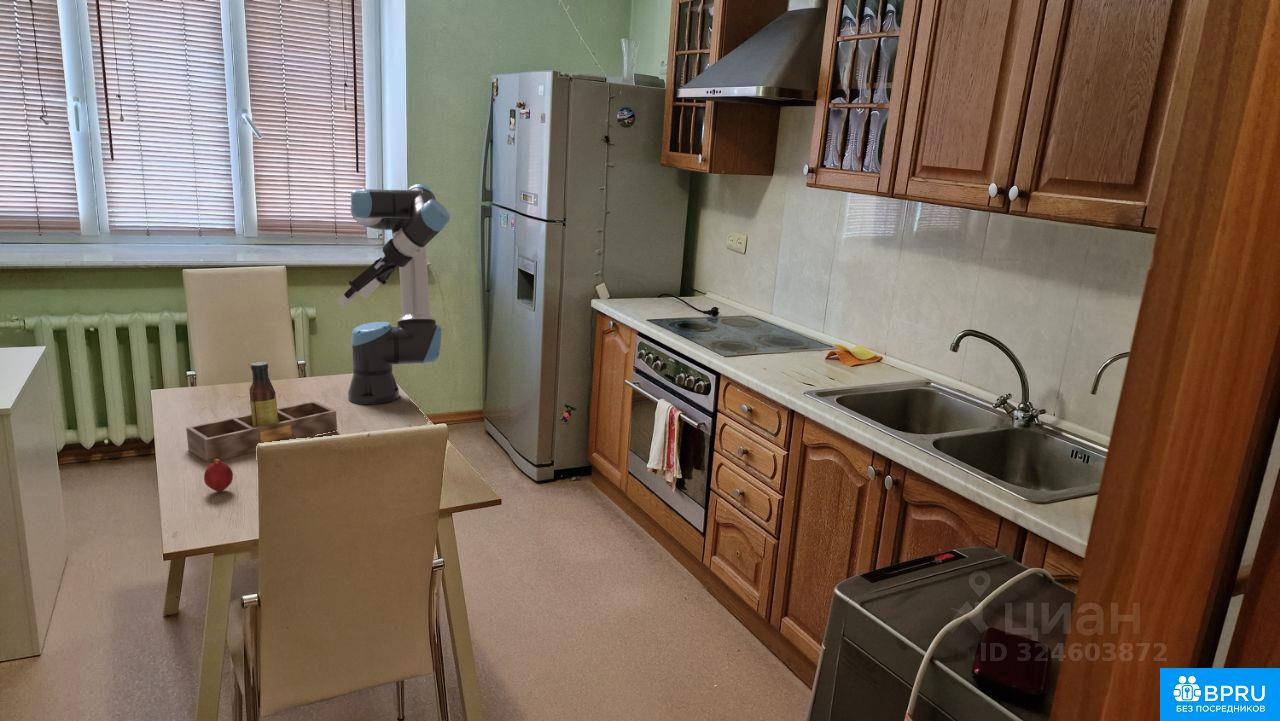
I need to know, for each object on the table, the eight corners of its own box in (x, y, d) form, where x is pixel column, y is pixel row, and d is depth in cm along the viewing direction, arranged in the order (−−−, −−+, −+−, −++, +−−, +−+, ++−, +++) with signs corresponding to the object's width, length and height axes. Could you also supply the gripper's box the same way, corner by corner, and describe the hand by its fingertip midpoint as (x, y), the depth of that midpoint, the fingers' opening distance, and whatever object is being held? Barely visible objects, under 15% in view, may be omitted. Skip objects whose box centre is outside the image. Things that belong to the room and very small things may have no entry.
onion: (212, 486, 189) (209, 453, 187) (238, 486, 189) (235, 454, 187) (201, 497, 183) (197, 463, 181) (228, 497, 184) (225, 463, 181)
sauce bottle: (284, 434, 220) (280, 362, 215) (267, 441, 214) (262, 367, 209) (265, 430, 222) (259, 359, 217) (247, 437, 216) (241, 364, 211)
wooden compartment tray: (315, 421, 234) (314, 400, 233) (337, 432, 226) (336, 411, 225) (188, 449, 209) (186, 427, 208) (208, 463, 201) (206, 440, 200)
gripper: (393, 264, 208) (339, 318, 213) (429, 252, 232) (380, 301, 237) (372, 242, 207) (319, 297, 213) (410, 232, 231) (361, 282, 237)
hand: (351, 299), depth 225 cm, fingers open, 13 cm apart
